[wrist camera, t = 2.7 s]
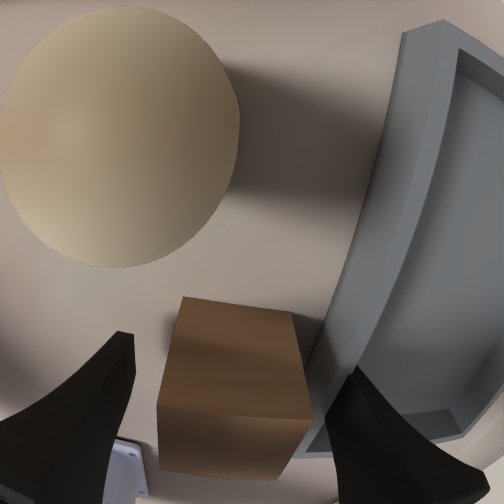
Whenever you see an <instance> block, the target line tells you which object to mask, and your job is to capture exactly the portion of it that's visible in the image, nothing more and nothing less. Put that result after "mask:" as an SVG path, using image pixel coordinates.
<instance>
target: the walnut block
mask: <svg viewBox="0 0 504 504" xmlns="http://www.w3.org/2000/svg"><path fill="white" fill-rule="evenodd" d="M313 421H314V416H313V411H312V407H311V402H310V397H309V392H308V388H307V383H306V378H305V374H304V369H303V364H302V360H301V355H300V351H299V346H298V342H297V337H296V333H295V328H294V324H293V319H292V315H291V312H288V311H280V310H272V309H264V308H257V307H250V306H243V305H236V304H229V303H222V302H216V301H209V300H203V299H196V298H190V297H184V296H183V298H182V302H181V306H180V310H179V314H178V317H177V321H176V325H175V329H174V333H173V337H172V341H171V345H170V349H169V353H168V357H167V361H166V365H165V370H164V374H163V378H162V382H161V387H160V391H159V395H158V400H157V431H158V450H159V466H160V470H165V471H171V472H177V473H184V474H191V475H199V476H208V477H217V478H229V479H244V480H275V481H277V479H278V478H279V476H280V475H281V473H282V472H283V470H284V468H285V467H286V465H287V464H288V462H289V461H290V459H291V458H292V456H293V454H294V453H295V451H296V450H297V448H298V446H299V445H300V443H301V441H302V440H303V438H304V436H305V435H306V433H307V431H308V430H309V428H310V426H311V425H312V423H313Z"/></svg>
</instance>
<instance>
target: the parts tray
mask: <svg viewBox="0 0 504 504" xmlns="http://www.w3.org/2000/svg"><path fill="white" fill-rule="evenodd" d="M356 365H358V366H359V368H360V369H361V370H362V371H363V372H364V374H365V375H366V376H367V377H368V378H369V380H370V381H371V382H372V383H373V384H374V386H375V387H376V388H377V389H378V390H379V392H380V393H381V394H382V395H383V396H384V397H385V399H386V400H387V401H388V402H389V403H390V404H391V405H392V406H393V408H394V409H395V410H396V411H397V412H398V413H399V414H400V415H401V416H402V417H403V418H404V419H405V420H406V421H407V422H408V423H409V424H410V425H411V426H412V427H414V428H415V429H416V430H417V431H418V432H419V433H420V434H422V435H423V436H424V437H425V438H426V439H428V440H429V441H430V442H432V443H433V444H438V443H443V442H447V441H452V440H456V439H460V438H463V437H464V436H465V435H466V434H467V433H468V432H469V431H470V430H471V429H472V427H473V426H474V425H475V424H476V423H477V422H478V421H479V420H480V418H481V417H482V416H483V415H484V414H485V413H486V411H487V410H488V409H489V408H490V407H491V405H492V404H493V403H494V402H495V400H496V399H497V398H498V397H499V395H500V394H501V393H502V391H503V390H504V58H503V57H501V56H500V55H499V54H497V53H496V52H494V51H493V50H492V49H490V48H489V47H487V46H486V45H484V44H483V43H481V42H480V41H478V40H477V39H475V38H474V37H472V36H470V35H469V34H467V33H466V32H464V31H462V30H461V29H459V28H457V27H456V26H454V25H452V24H451V23H449V22H447V21H445V20H440V21H437V22H434V23H431V24H428V25H424V26H421V27H418V28H415V29H413V30H410V31H407V32H404V33H402V37H401V44H400V50H399V55H398V61H397V67H396V72H395V77H394V82H393V87H392V92H391V97H390V102H389V106H388V111H387V115H386V120H385V124H384V128H383V133H382V137H381V141H380V145H379V149H378V153H377V157H376V161H375V164H374V168H373V172H372V176H371V179H370V183H369V186H368V190H367V194H366V197H365V200H364V204H363V207H362V211H361V214H360V217H359V221H358V224H357V227H356V230H355V234H354V237H353V240H352V243H351V246H350V249H349V252H348V255H347V258H346V261H345V264H344V267H343V270H342V273H341V276H340V279H339V282H338V284H337V287H336V290H335V293H334V296H333V298H332V301H331V304H330V307H329V309H328V312H327V315H326V317H325V320H324V323H323V325H322V328H321V330H320V333H319V336H318V338H317V341H316V343H315V346H314V348H313V351H312V353H311V356H310V358H309V360H308V363H307V365H306V368H305V370H304V374H305V378H306V383H307V388H308V392H309V397H310V402H311V407H312V411H313V416H314V421H313V423H312V425H311V426H310V428H309V430H308V431H307V433H306V435H305V436H304V438H303V440H302V441H301V443H300V445H299V446H298V448H297V450H296V451H295V453H294V454H293V456H292V458H330V457H333V453H332V449H331V445H330V441H329V436H328V432H327V428H326V423H325V418H324V417H325V415H326V414H327V412H328V410H329V408H330V407H331V405H332V403H333V401H334V400H335V398H336V396H337V394H338V393H339V391H340V389H341V387H342V385H343V383H344V382H345V380H346V378H347V376H348V374H352V373H353V371H354V369H355V367H356Z"/></svg>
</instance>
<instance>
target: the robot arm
mask: <svg viewBox="0 0 504 504" xmlns="http://www.w3.org/2000/svg"><path fill="white" fill-rule="evenodd" d="M135 375H136V365H135V347H134V334H130V333H125V332H121V331H117V332H116V333H114V335H113V336H112V337H111V338H110V339H109V340H108V341H107V342H106V343H105V344H104V345H103V346H102V347H101V348H100V349H99V350H98V351H97V352H96V353H95V354H94V355H93V356H92V357H91V358H90V359H89V360H88V361H87V362H86V363H85V364H84V365H83V366H82V367H81V368H80V369H79V370H77V371H76V372H75V373H74V374H73V375H72V376H70V377H69V378H68V379H67V380H66V381H65V382H63V383H62V384H61V385H60V386H58V387H57V388H56V389H54V390H53V391H52V392H50V393H49V394H48V395H46V396H45V397H43V398H42V399H40V400H39V401H37V402H35V403H34V404H32V405H31V406H29V407H27V408H26V409H24V410H22V411H20V412H18V413H16V414H14V415H12V416H10V417H8V418H6V419H4V420H2V421H0V504H135V501H136V497H141V498H148V497H149V491H148V486H147V481H146V476H145V470H144V465H143V459H142V453H141V448H140V447H139V446H138V445H137V444H134V443H130V442H126V441H122V440H118V439H116V436H117V433H118V430H119V427H120V424H121V422H122V419H123V416H124V413H125V411H126V408H127V405H128V402H129V399H130V396H131V392H132V388H133V384H134V380H135ZM324 418H325V423H326V428H327V432H328V436H329V441H330V445H331V449H332V453H333V458H334V462H335V467H336V473H337V482H338V493H339V504H474V503H476V502H477V501H479V500H480V499H481V498H483V497H484V496H485V495H486V494H487V493H488V492H489V490H490V486H489V484H488V481H487V479H486V477H485V474H484V472H483V471H480V470H478V469H476V468H474V467H472V466H469V465H467V464H465V463H463V462H461V461H460V460H458V459H456V458H454V457H453V456H451V455H449V454H448V453H446V452H444V451H443V450H441V449H440V448H439V447H437V446H436V445H434V444H433V443H432V442H430V441H429V440H428V439H426V438H425V437H424V436H423V435H422V434H420V433H419V432H418V431H417V430H416V429H415V428H414V427H412V426H411V425H410V424H409V423H408V422H407V421H406V420H405V419H404V418H403V417H402V416H401V415H400V414H399V413H398V412H397V411H396V410H395V409H394V408H393V406H392V405H391V404H390V403H389V402H388V401H387V400H386V399H385V397H384V396H383V395H382V394H381V393H380V392H379V390H378V389H377V388H376V387H375V386H374V384H373V383H372V382H371V381H370V380H369V378H368V377H367V376H366V375H365V374H364V372H363V371H362V370H361V369H360V368H359V366H358V365H356V367H355V369H354V371H353V373H352V374H348V376H347V378H346V380H345V382H344V383H343V385H342V387H341V389H340V391H339V393H338V394H337V396H336V398H335V400H334V401H333V403H332V405H331V407H330V408H329V410H328V412H327V414H326V415H325V417H324Z"/></svg>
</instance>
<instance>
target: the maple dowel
mask: <svg viewBox="0 0 504 504" xmlns="http://www.w3.org/2000/svg"><path fill="white" fill-rule="evenodd" d="M239 129H240V111H239V105H238V101H237V98H236V95H235V92H234V90H233V87H232V85H231V82H230V80H229V78H228V76H227V74H226V71H225V69H224V67H223V65H222V63H221V62H220V60H219V59H218V57H217V56H216V54H215V53H214V51H213V50H212V49H211V47H210V46H209V45H208V44H207V43H206V42H205V41H204V40H203V39H202V38H201V37H200V35H198V34H197V33H196V32H195V31H193V30H192V29H191V28H189V27H188V26H187V25H186V24H184V23H182V22H180V21H179V20H177V19H175V18H173V17H171V16H169V15H166V14H164V13H161V12H158V11H155V10H151V9H146V8H141V7H130V6H117V7H109V8H102V9H98V10H94V11H91V12H87V13H85V14H82V15H80V16H77V17H75V18H73V19H71V20H69V21H67V22H66V23H64V24H62V25H60V26H59V27H57V28H56V29H55V30H53V31H52V32H51V33H49V34H48V35H47V36H46V37H44V38H43V39H42V40H41V41H40V42H39V43H38V44H37V45H36V46H35V47H34V48H33V49H32V50H31V52H30V53H29V54H28V56H27V57H26V58H25V59H24V61H23V62H22V64H21V65H20V67H19V68H18V70H17V72H16V73H15V75H14V77H13V79H12V81H11V83H10V85H9V88H8V90H7V93H6V96H5V99H4V102H3V105H2V109H1V114H0V171H1V175H2V179H3V182H4V185H5V188H6V191H7V193H8V196H9V198H10V200H11V202H12V204H13V206H14V208H15V210H16V211H17V213H18V214H19V216H20V217H21V219H22V220H23V222H24V223H25V224H26V225H27V226H28V228H29V229H30V230H31V231H32V232H33V233H34V234H35V235H36V236H37V237H38V238H39V239H40V240H41V241H42V242H44V243H45V244H46V245H48V246H49V247H50V248H52V249H53V250H55V251H56V252H58V253H60V254H62V255H64V256H65V257H67V258H70V259H72V260H75V261H77V262H80V263H84V264H87V265H91V266H97V267H105V268H125V267H132V266H138V265H142V264H145V263H149V262H152V261H155V260H157V259H159V258H162V257H164V256H166V255H168V254H170V253H171V252H173V251H175V250H176V249H178V248H180V247H181V246H182V245H184V244H185V243H186V242H187V241H189V240H190V239H191V238H192V237H194V236H195V235H196V234H197V232H198V231H199V230H200V229H201V228H202V227H203V226H204V225H205V224H206V223H207V221H208V220H209V219H210V217H211V216H212V215H213V213H214V212H215V211H216V209H217V207H218V205H219V204H220V202H221V200H222V198H223V196H224V195H225V192H226V190H227V187H228V185H229V182H230V180H231V177H232V174H233V170H234V166H235V162H236V158H237V150H238V142H239Z"/></svg>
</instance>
